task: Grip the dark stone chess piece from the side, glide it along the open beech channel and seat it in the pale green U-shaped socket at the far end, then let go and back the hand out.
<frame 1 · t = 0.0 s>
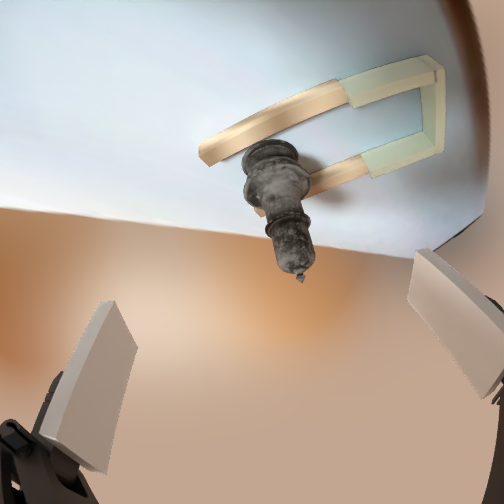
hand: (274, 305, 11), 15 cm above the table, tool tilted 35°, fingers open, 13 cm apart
channel: (270, 161, 24), on the table
socket: (386, 113, 20), on the table
dark stone chess piece: (269, 159, 24), on the table
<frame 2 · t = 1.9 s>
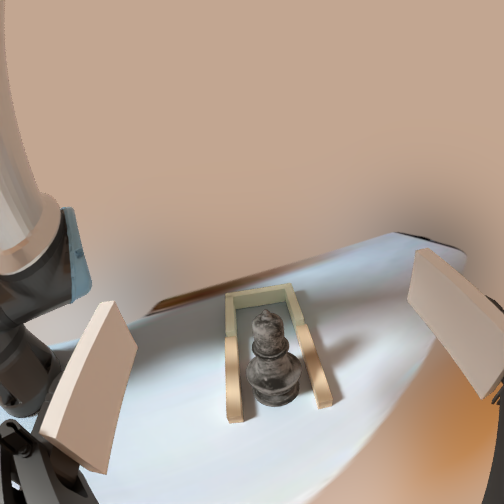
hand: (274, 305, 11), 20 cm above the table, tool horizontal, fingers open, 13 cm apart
channel: (276, 387, 28), on the table
socket: (263, 321, 39), on the table
dark stone chess piece: (276, 388, 28), on the table
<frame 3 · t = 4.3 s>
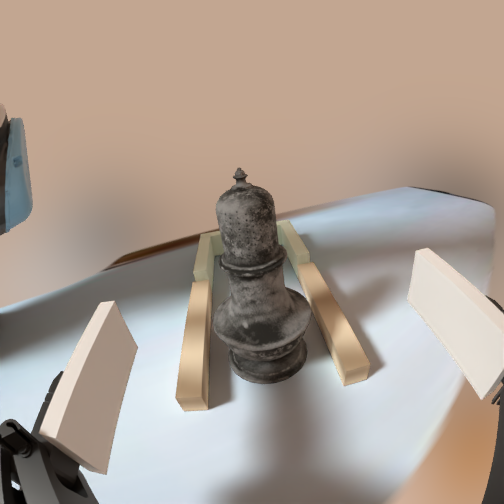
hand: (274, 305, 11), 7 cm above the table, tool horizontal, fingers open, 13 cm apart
channel: (267, 352, 17), on the table
socket: (251, 266, 28), on the table
dark stone chess piece: (268, 354, 18), on the table
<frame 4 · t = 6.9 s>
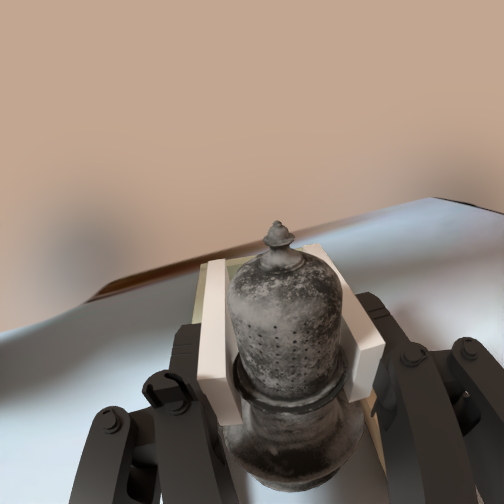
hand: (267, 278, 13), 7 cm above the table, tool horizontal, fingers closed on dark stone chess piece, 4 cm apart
channel: (294, 448, 11), on the table
socket: (266, 311, 22), on the table
dark stone chess piece: (295, 449, 11), on the table, touching gripper
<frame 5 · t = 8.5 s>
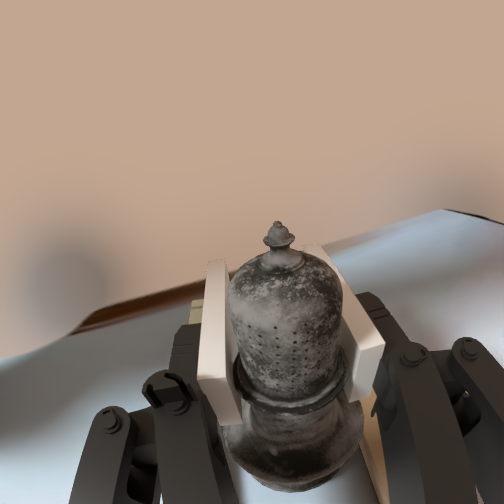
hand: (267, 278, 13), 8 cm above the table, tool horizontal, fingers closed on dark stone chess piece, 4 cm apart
socket: (267, 359, 18), on the table
dark stone chess piece: (295, 449, 11), point 1 cm above the table, touching gripper
when the fingers open (7 cm above the table, at t = 10.4 s): dark stone chess piece stays where it is, on the table.
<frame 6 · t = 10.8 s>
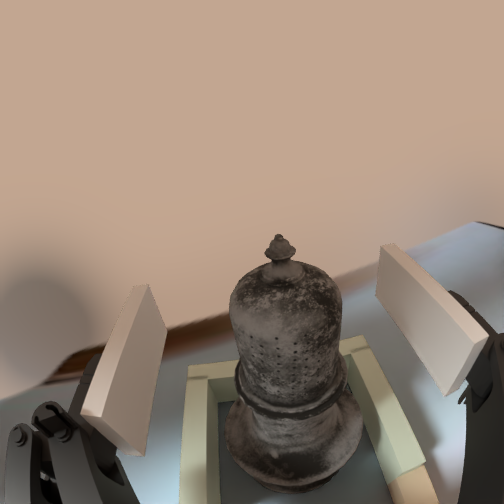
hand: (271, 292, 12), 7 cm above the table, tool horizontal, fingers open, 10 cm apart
socket: (294, 449, 11), on the table
dark stone chess piece: (295, 451, 11), on the table
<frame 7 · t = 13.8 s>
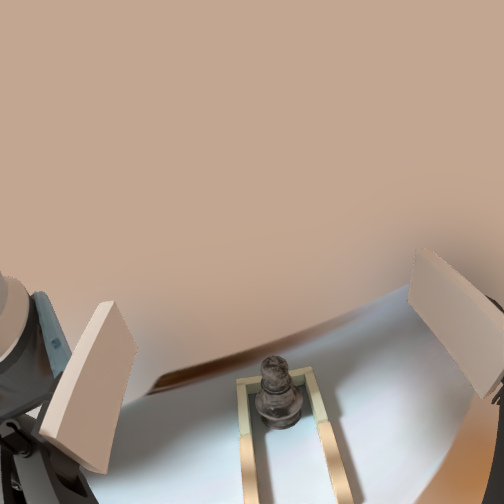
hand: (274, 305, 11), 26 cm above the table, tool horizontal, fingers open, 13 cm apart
channel: (296, 493, 20), on the table
socket: (280, 412, 31), on the table
dark stone chess piece: (281, 413, 31), on the table
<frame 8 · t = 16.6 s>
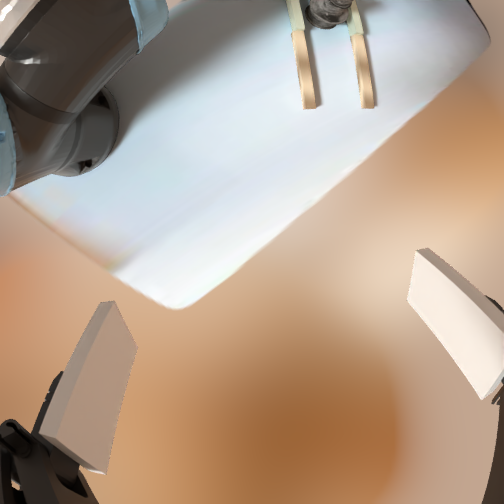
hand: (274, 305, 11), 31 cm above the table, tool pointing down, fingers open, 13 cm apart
channel: (334, 83, 33), on the table
socket: (321, 15, 28), on the table
dark stone chess piece: (321, 16, 28), on the table
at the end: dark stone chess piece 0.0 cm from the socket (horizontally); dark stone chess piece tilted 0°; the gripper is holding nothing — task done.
